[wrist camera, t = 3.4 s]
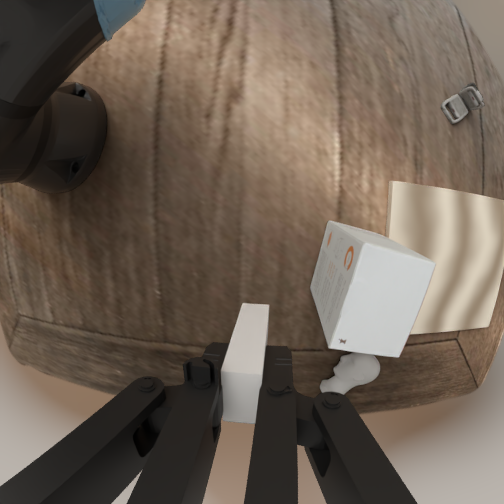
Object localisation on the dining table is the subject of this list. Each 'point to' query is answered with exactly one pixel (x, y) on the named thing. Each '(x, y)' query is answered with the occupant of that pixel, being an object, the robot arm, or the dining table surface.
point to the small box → (368, 290)
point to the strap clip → (463, 103)
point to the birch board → (451, 251)
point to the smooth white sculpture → (352, 372)
